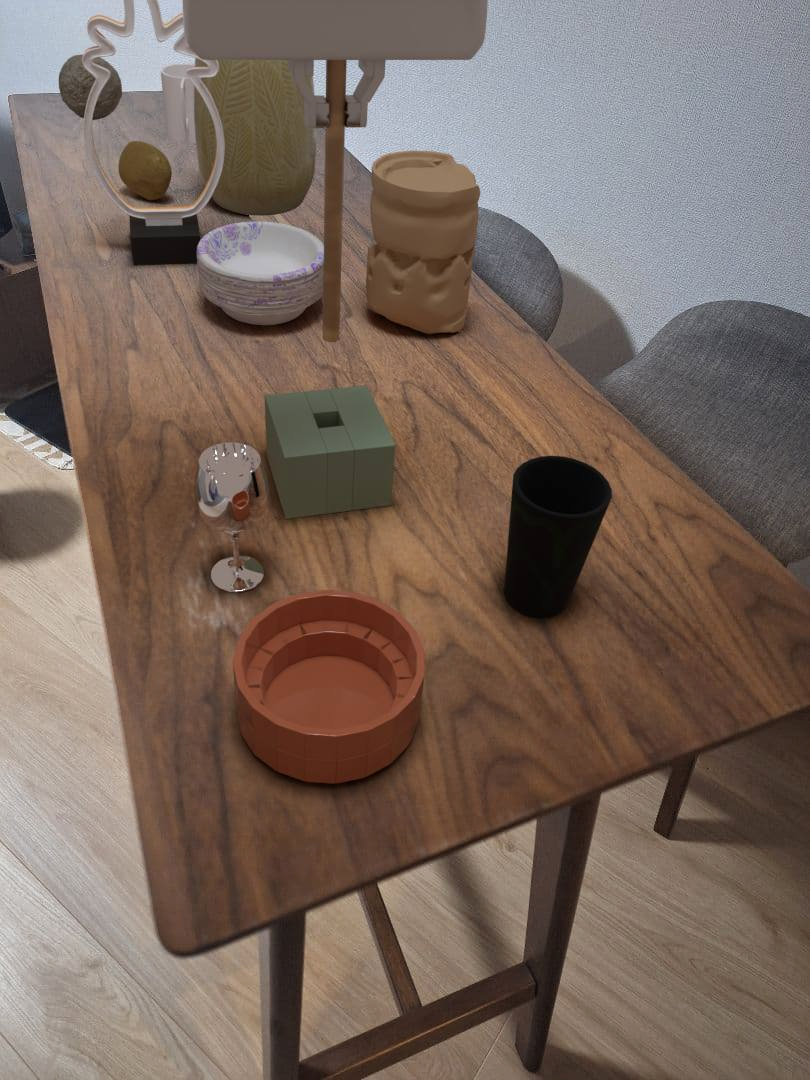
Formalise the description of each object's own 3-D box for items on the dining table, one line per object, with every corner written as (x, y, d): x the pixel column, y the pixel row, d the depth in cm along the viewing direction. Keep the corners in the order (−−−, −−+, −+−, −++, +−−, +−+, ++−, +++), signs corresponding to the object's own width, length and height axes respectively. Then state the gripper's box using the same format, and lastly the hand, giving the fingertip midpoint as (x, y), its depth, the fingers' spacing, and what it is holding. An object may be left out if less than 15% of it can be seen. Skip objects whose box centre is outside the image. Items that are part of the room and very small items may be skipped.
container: (442, 288, 120) (457, 147, 108) (481, 335, 111) (502, 187, 99) (351, 298, 116) (356, 153, 104) (384, 347, 107) (394, 195, 95)
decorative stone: (62, 126, 155) (51, 62, 148) (66, 110, 161) (55, 48, 154) (125, 127, 157) (117, 63, 150) (126, 111, 163) (118, 49, 156)
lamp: (227, 234, 128) (211, -29, 107) (233, 261, 121) (218, -11, 100) (102, 237, 124) (60, -34, 103) (101, 266, 118) (57, -16, 97)
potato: (122, 188, 137) (114, 133, 132) (174, 188, 138) (169, 133, 133) (120, 207, 132) (112, 150, 126) (174, 207, 133) (169, 150, 128)
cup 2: (598, 596, 79) (631, 487, 71) (545, 641, 74) (574, 530, 66) (527, 551, 82) (551, 443, 74) (473, 592, 78) (492, 481, 70)
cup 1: (161, 149, 150) (154, 84, 143) (169, 125, 159) (163, 62, 152) (211, 152, 151) (207, 86, 144) (217, 127, 160) (213, 65, 153)
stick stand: (285, 519, 83) (284, 457, 78) (266, 455, 90) (264, 394, 86) (391, 505, 86) (396, 444, 81) (364, 444, 93) (367, 385, 88)
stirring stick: (324, 343, 76) (328, 53, 61) (321, 334, 77) (324, 47, 62) (341, 341, 76) (349, 53, 62) (337, 333, 77) (344, 47, 63)
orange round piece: (254, 806, 61) (251, 753, 57) (226, 659, 70) (221, 605, 66) (441, 766, 64) (449, 714, 60) (390, 631, 74) (395, 578, 70)
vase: (185, 183, 140) (168, -19, 122) (290, 172, 147) (288, -21, 129) (221, 228, 129) (208, 13, 111) (333, 214, 135) (338, 9, 118)
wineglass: (267, 600, 75) (262, 486, 67) (197, 595, 75) (184, 480, 67) (275, 553, 80) (272, 440, 72) (209, 548, 79) (198, 435, 72)
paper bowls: (306, 347, 106) (306, 284, 101) (181, 326, 108) (175, 262, 102) (339, 290, 117) (341, 230, 112) (226, 272, 119) (222, 212, 114)
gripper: (172, -110, 51) (193, 144, 61) (510, -94, 57) (481, 137, 66) (162, -125, 56) (182, 113, 65) (476, -110, 61) (453, 109, 70)
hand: (335, 125), depth 65 cm, fingers closed on stirring stick, 1 cm apart
